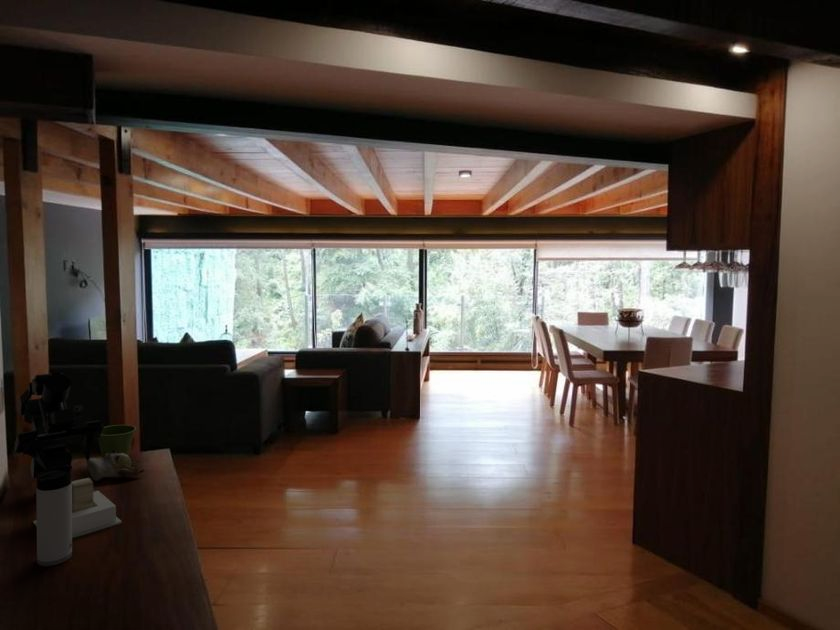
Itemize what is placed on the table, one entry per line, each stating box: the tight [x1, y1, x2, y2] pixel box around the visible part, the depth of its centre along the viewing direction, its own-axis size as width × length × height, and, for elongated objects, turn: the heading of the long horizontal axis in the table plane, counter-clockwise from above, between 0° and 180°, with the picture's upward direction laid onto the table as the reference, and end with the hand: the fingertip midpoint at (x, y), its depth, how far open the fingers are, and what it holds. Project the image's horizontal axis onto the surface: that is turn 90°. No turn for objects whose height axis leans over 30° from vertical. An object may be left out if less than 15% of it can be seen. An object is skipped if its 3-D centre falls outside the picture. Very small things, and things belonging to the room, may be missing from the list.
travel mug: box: [35, 465, 73, 567], centre depth 111 cm, size 6×7×20 cm
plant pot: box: [97, 424, 137, 458], centre depth 168 cm, size 12×12×11 cm
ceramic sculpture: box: [86, 451, 145, 482], centre depth 157 cm, size 11×9×15 cm
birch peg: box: [71, 477, 94, 513], centre depth 127 cm, size 4×4×10 cm
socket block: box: [33, 490, 123, 539], centre depth 127 cm, size 15×15×5 cm
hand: (67, 463), depth 131 cm, fingers open, 9 cm apart
